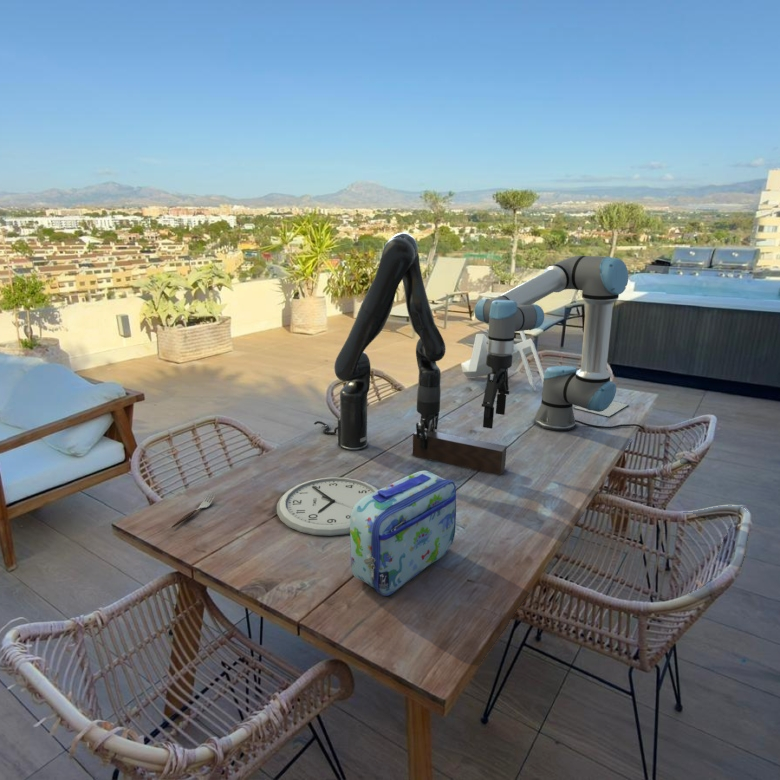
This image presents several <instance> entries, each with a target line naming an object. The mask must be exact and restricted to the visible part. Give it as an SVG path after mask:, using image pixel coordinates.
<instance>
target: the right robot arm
mask: <svg viewBox="0 0 780 780" xmlns="http://www.w3.org/2000/svg"><path fill="white" fill-rule="evenodd" d="M628 283H629V270H628V266H627V265H626V263H625V261H623V260H622V259H620V258H618V257H611V256H595V255H594V256H593V255H575V256H571V257H568V258H565V259H561V260H559V261H557V262H555V263H553V264H551V265H550V266H547V267H546V268H545V269H544V271H543V272H542V273H539V274H538V275H537V276H534V277H532V278H531V279H529V280H526V281H525V282H523V283H522V284H519V285H517V286H516V287H514V288H511V289H510V290H508V291H506V292H504V293H503V294H500V295H498V296H496V297H494V298H492V299H491V298H482V299H481V298H480V299H479V300H478V302H477V303H476V304H475V306H474V317H475V318H476V319H477V321H479V322H482V323H485V324H488V333H487V334H488V336H487V338H488V341H486V344H488V347H487V351H488V352H489V353H487V357H486V365H487V366H488V367H491V368H492V372H490V373H488V375H487V379H486V385H485V389H484V394H483V399H482V403H481V407H483V410H484V411H483V421H482V428H485V429H491V430H492V429H493V427H494V415H502V416H505V415H506V404H507V395H510V391H509V389H510V388H509V369H511V367H512V365H513V364H512V353H513V347H514V344H515V333H516V332H519V331H524V332H525V331H533V330H535V329H538V328H540V327H541V326H542V325H543V323H544V322H545V311H544V310H543V308H542V307H541V306H540V305H538V304H536V303H537V302H539V301H540V300H542V299H543V298H546V297H547V296H549V295H551V294H553V293H561V292H563V291H566V290H577V291H581V293H582V294H581V298H582V299H583V301H584V302H585V313H584V322H583V323H584V325H583V337H582V338H583V339H582V346H581V361H580V368H579V369H578V368H577V367H576V366H571V365H570V366H569V365H557V366H556V365H555V366H550V367H547V368H546V369H545V371H544V374H545V375H544V378H543V379H544V381H543V382H542V394H541V402H540V405H539V407H538V410H537V411H536V413H535V416H534V424H535V425H536V426H537V427H539V428H542V429H544V430H549V431H556V432H567V431H572V430H574V429H575V428H576V423H577V424H580V425H584V426H588V427H591V428H592V427H593V428H599V429H615V428H620V427H638V428H640V429H641V430H645V427H644V426H642V425H640V424H638V423H633V424H632V423H629V424H627V423H624V424H623V423H622V424H617V425H612V426H609V425H608V426H606V425H605V426H604V425H596V424H591V423H586V422H583V421H580V420H578V419H576V418H575V417H576V416H575V413H574V407H573V406H575V407H576V406H579V407H582V408H585V409H588V410H593V411H597V412H601V411H604V410H605V409H607V408H608V407H609V405H610V404H611V403H612V401H614V400H615V398H616V397H615V396H616V394H617V393H616V392H617V386H616V384H615V383H614V382H613V381H611V373H610V372H609V371H608V370H607V367H608V358H609V349H610V337H611V330H612V329H611V328H612V318H613V317H612V316H613V307H614V303H615V302H616V301H617V300H618V299H619V296H620V295H621V294H623V293H624V292H625V290H626V288H627V286H628ZM495 400H496V402H495ZM495 404H496V406H495V407H494V405H495Z"/></svg>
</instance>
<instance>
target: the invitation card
mask: <svg viewBox="0 0 780 780" xmlns="http://www.w3.org/2000/svg"><path fill="white" fill-rule="evenodd" d="M628 406H629V404H627V403H623V402H618V401H614V400H613V401H612V403H611V404H610V405H609V407H608V408H607V409H605V410H604V411H601V412H597V411H593V410H588V409H585V408H582V407H579V406H576V405H575V406H574V407H573V409H575V410H581V411H584V412H587V413H593V414H596V415H600V416H604V417H608V418H609V417H611V416H613V415H614V414H616V413H617V412H619V411H621V410H623V409H624V408H626V407H628Z"/></svg>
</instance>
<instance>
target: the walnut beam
mask: <svg viewBox="0 0 780 780" xmlns="http://www.w3.org/2000/svg"><path fill="white" fill-rule="evenodd" d="M425 434H426V433H425ZM412 435H413V436H412V457H416V458H421V459H426V460H430V461H434V462H438V463H444V464H449V465H452V466H457V467H462V468H466V469H471V470H474V471H480V472H483V473H487V474H488V473H489V474H493V475H498V476H501V475H502V474H503V472H504V471H505V470H506V457H507V445H503V444H498V443H493V442H488V441H485V440H484V441H483V440H478V439H474V438H468V437H463V436H458V435H453V434H449V433H448V434H447V433H443V432H439V431H438V432H437V431H435V432H433V431H430V432H429V433H428V437H427V449H426V450H422V449H420V439H417V431H414V433H412Z"/></svg>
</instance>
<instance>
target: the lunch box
mask: <svg viewBox="0 0 780 780" xmlns="http://www.w3.org/2000/svg"><path fill="white" fill-rule="evenodd" d="M456 519H457V488H456V484H455V482H454V480H452V479H449V478H448V479H447V478H446V479H445V478H442V477H440V476H439V475H437V474H434V473H432V471H428V470H419V471H417V472H414V473H412V474H410V475H407V476H405V477H403V478H400V479H399V480H396V481H394V482H392V483H390V484H388V485H386V486H384V487H382V488H380V489H379V490H378V491H376V492H374V493H372V494H370V495H367V496H365V497H364V498H362V499H360V500H359V501H358V502H357V503H356V505H355V506H354V508H353V510H352V513H351V517H350V533H349V540H350V566H351V573H352V575H353V577H354V578H355V579H357V580H359V581H362V582H363V583H365V584H367V585H368V586H370V587H371V588H373V589H374V590H375V592H376V593H378V594H379V595H381V596H386V597H387V596H390V595H392V594H394V593H395V592H396V591H398V590H399V589H400V588H401V587H402V586H404V585H405V584H407V583H408V582H409V581H411V580H412V579H413V578H415V577H416V576H418V575H419V574H420V573H421V572H423V571H424V570H425V569H426V568H428V566H430V565H432V564H434V563H435V562H437V561H438V560H440V559H441V558H442V557H444V556H445V555H446V554H447V553H448V552H449V550H450V548H451V547H452V545H453V542H454V539H455V535H456V524H457V523H456V522H457V520H456Z"/></svg>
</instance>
